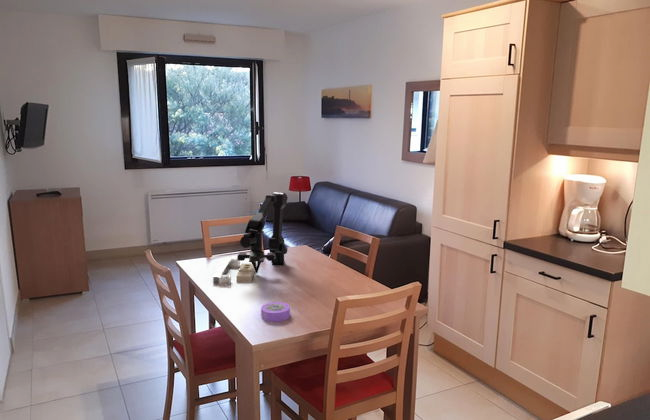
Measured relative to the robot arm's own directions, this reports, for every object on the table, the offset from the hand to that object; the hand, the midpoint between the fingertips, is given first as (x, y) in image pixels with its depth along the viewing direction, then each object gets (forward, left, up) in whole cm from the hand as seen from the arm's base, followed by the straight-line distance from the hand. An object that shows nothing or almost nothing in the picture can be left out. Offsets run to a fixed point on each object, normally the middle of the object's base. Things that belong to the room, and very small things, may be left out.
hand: (256, 272), depth 246 cm
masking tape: (-14, +51, -2) cm, 53 cm away
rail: (+15, 0, -1) cm, 15 cm away
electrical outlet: (+5, +1, -2) cm, 6 cm away
